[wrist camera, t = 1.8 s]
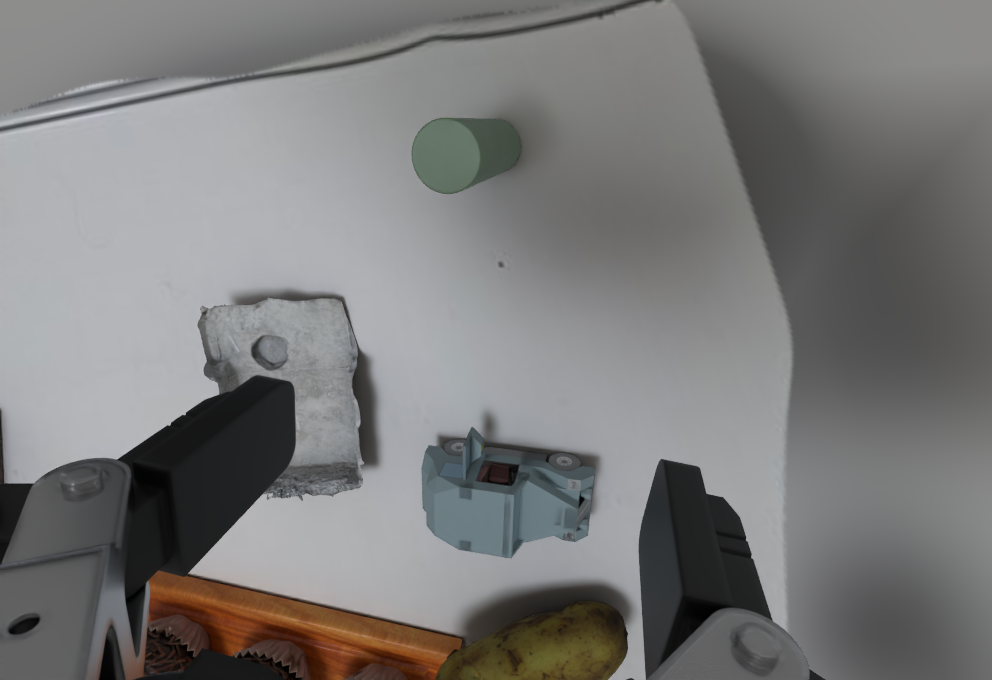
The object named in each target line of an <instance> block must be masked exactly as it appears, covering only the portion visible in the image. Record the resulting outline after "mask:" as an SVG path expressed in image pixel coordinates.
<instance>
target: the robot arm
mask: <svg viewBox="0 0 992 680" xmlns="http://www.w3.org/2000/svg"><path fill="white" fill-rule="evenodd" d="M295 446H296V422H295V390H294V386H293V384H292V383H291V382H290V381H286V380H281V379H277V378H272V377H267V376H262V375H255V376H253V377H251V378H250V379H248V380H247V381H246V382H244V383H243V384H241V385H240V386H238V387H237V388H236V389H234V390H233V391H231V392H230V391H228V392H225V393H222V394H220V395H217V396H214V397H212V398H209V399H206V400H204V401H202V402H201V403H199V404H198V405H196V406H195V407H194V408H192V409H191V410H189V411H188V412H186V415H182V416H180V417H179V418H177V419H176V420H174V421H173V422H172V423H171V425H170V426H168V425H167V426H166V427H164V428H163V429H161V430H160V431H158V432H157V433H155V434H154V435H153V436H151V437H150V438H148V439H147V440H145V441H144V442H142V443H141V444H139V445H138V446H136V447H135V448H133V449H132V450H131V451H129V452H128V453H126V454H125V455H123V456H122V457H120V458H119V459H117V460H115V459H109V458H93V459H85V460H80V461H76V462H72V463H69V464H66V465H63V466H61V467H58V468H56V469H54V470H52V471H50V472H48V473H47V474H45V475H44V476H42V477H41V478H40V479H39V480H37V481H36V482H35V484H0V680H286V679H285V678H283V677H282V676H280V675H279V674H277V673H275V672H274V671H272V670H271V669H269V668H268V667H266V666H264V665H261V664H257V663H254V662H250V661H246V660H243V659H239V658H236V657H232V656H229V655H225V654H222V653H218V652H215V651H211V650H208V649H204V648H202V649H201V651H200V652H199V653H198V654H197V656H196V657H195V658H194V660H193V661H192V662H191V663H190V665H189V666H188V667H187V668H186V670H185V671H173V672H164V673H158V674H153V675H148V676H143V674H144V662H145V650H146V638H147V626H148V614H149V602H150V585H149V579H150V578H151V577H152V576H153V575H154V574H155V573H156V572H157V571H158V570H159V571H163V572H167V573H171V574H175V575H178V576H182V577H185V576H186V575H187V574H188V573H189V572H190V570H191V569H192V568H193V567H194V566H195V565H196V564H197V563H198V562H199V561H200V560H201V559H202V558H203V557H204V556H205V555H206V553H207V552H208V551H209V550H210V549H211V548H212V547H213V546H214V545H215V544H216V543H217V542H218V541H219V540H220V539H221V538H222V536H223V535H224V534H225V533H226V532H227V531H228V530H229V529H230V528H231V527H232V526H233V525H234V524H235V523H236V522H237V521H238V519H239V518H240V517H241V516H242V515H243V514H244V513H245V512H246V511H247V510H248V509H249V508H250V507H251V506H252V505H253V504H254V502H255V501H256V500H257V499H258V498H259V497H260V496H261V495H262V494H263V493H264V492H265V491H266V490H267V489H268V488H269V487H270V485H271V484H272V483H273V482H274V481H275V480H276V479H277V478H278V477H279V476H280V475H281V474H282V473H283V472H284V471H285V469H286V468H287V467H288V465H289V464H290V462H291V460H292V457H293V454H294V451H295ZM751 555H752V554H751V551H750V548H749V545H748V542H747V541H746V535H745V532H744V529H743V526H742V523H741V520H740V517H739V516H738V515H737V513H736V512H735V511H734V510H733V509H732V507H731V506H730V505H729V504H728V503H727V501H726V500H725V499H724V498H723V497H718V496H714V495H709V494H706V491H705V487H704V483H703V479H702V474H701V471H700V468H699V467H697V466H693V465H688V464H683V463H678V462H673V461H668V460H664V459H661V460H660V461H659V463H658V466H657V469H656V472H655V476H654V480H653V483H652V487H651V490H650V494H649V498H648V501H647V505H646V509H645V512H644V516H643V520H642V524H641V530H640V537H639V565H640V583H641V600H642V618H643V636H644V653H645V671H646V680H825V679H824V678H822V677H820V676H819V675H817V674H816V673H814V672H813V671H811V670H810V669H809V665H808V662H807V659H806V657H805V655H804V653H803V651H802V650H801V648H800V647H799V645H798V644H797V642H796V641H795V640H794V639H793V638H792V637H791V636H790V635H789V634H788V633H787V632H786V631H785V630H784V629H783V628H781V627H780V626H779V625H777V624H776V623H775V622H773V621H772V618H771V614H770V611H769V608H768V605H767V602H766V599H765V595H764V592H763V589H762V586H761V583H760V580H759V576H758V573H757V570H756V567H755V564H754V561H753V559H751ZM627 680H634V679H632V678H630V679H627Z"/></svg>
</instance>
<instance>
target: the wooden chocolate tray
mask: <svg viewBox="0 0 992 680" xmlns="http://www.w3.org/2000/svg"><path fill="white" fill-rule="evenodd" d="M149 585H150V602H149V614H148V626H147V638H146V650H145V662H144V674H143V676H148V675H153V674H158V673H164V672H173V671H185V670H186V668H187V667H188V666H189V665H190V663H191V662H192V661H193V660H194V658H195V657H196V656H197V654H198V653H199V652H200V651H201V649H202V648H204V649H208V650H211V651H215V652H218V653H222V654H225V655H229V656H232V657H236V658H239V659H243V660H246V661H250V662H254V663H257V664H261V665H264V666H266V667H268V668H269V669H271V670H272V671H274V672H275V673H277V674H279V675H280V676H282V677H283V678H285V679H286V680H434V679H435V677H436V675H437V673H438V671H439V668H440V667H441V665H442V664H443V662H444V661H445V660H446V659H447V656H449V654H451V652H452V651H453V650H454V649H456V650H460V649H462V639H460V638H455V637H451V636H447V635H442V634H438V633H433V632H429V631H425V630H420V629H416V628H412V627H407V626H403V625H399V624H394V623H390V622H385V621H381V620H377V619H372V618H368V617H364V616H359V615H355V614H350V613H346V612H342V611H337V610H333V609H329V608H324V607H320V606H316V605H311V604H307V603H302V602H298V601H294V600H289V599H285V598H281V597H276V596H272V595H267V594H263V593H259V592H254V591H250V590H246V589H241V588H237V587H233V586H228V585H224V584H219V583H215V582H211V581H206V580H202V579H198V578H193V577H189V576H185V577H182V576H178V575H175V574H171V573H167V572H163V571H159V570H158V571H157V572H156V573H155V574H154V575H153V576H152V577H151V578H150V579H149Z"/></svg>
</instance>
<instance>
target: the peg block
mask: <svg viewBox="0 0 992 680" xmlns="http://www.w3.org/2000/svg"><path fill="white" fill-rule="evenodd" d="M0 427H1V425H0ZM0 484H3V465H2V445H1V428H0Z"/></svg>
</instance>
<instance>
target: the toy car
mask: <svg viewBox="0 0 992 680" xmlns="http://www.w3.org/2000/svg"><path fill="white" fill-rule="evenodd" d="M511 470H512V471H511ZM513 471H514V472H513ZM594 473H595V468H592V467H585V466H582V467H580V460H579V459H578V458H577V457H575V456H573V455H571V454H567V453H557V454H554V455H552V456H550V458H549V459H548V463H547V455H546V454H539V453H531V452H524V451H516V450H509V449H501V448H494V447H487V448H484V438H483V437H482V436H481V435H480V434H479V433H478V432H477V431H476V430H475V429H474V428H473V427H472V428H471V430H470V432H469V434H468V436H467V438H466V440H461V439H456V440H451V441H449V442H447V443H446V444H445V445H444V447H443V449H442V448H441V447H437V446H428V448H427V450H426V451H425V455H424V460H423V465H422V498H423V509H424V510H425V512H426V516H427V526H428V528H429V529H430V530H431V531H432V533H433V534H434V535H435V536H436V537H438V538H440V539H441V540H443V541H445V542H447V543H448V544H450V545H452V546H454V547H455V548H457V549H459V550H464V551H470V552H476V553H482V554H488V555H494V556H500V557H506V558H512V557H513V555H514V554H515V553H516V551H517V550H518V549H519V547H520V546H521V545H522V543H523V542H529V541H533V540H537V539H542V538H546V537H550V536H556V537H558V538H560V539H562V540H566V541H573V542H576V541H578V540H580V539H582V538H584V537H586V536H588V529H589V519H590V508H591V499H592V489H593V483H594Z"/></svg>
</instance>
